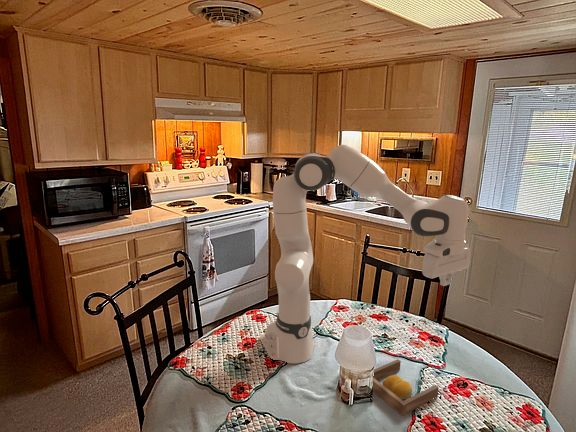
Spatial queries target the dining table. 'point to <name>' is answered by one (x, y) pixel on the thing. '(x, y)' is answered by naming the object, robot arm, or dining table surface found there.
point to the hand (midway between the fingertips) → (444, 284)
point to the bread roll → (398, 386)
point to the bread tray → (391, 398)
